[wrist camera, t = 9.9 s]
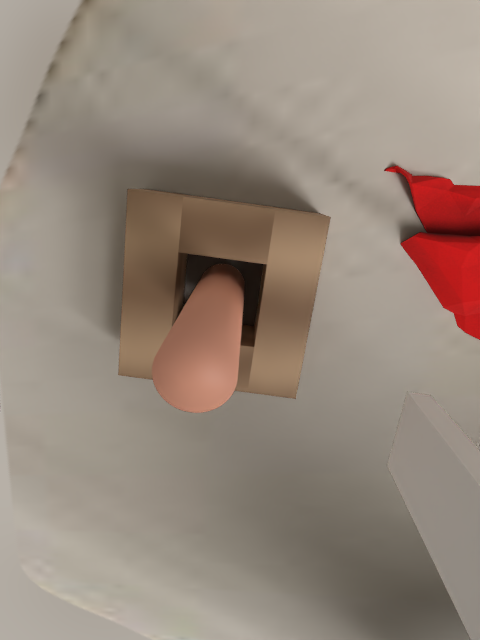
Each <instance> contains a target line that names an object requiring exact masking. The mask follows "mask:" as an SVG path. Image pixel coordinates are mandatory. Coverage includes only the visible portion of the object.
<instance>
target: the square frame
mask: <svg viewBox="0 0 480 640" xmlns="http://www.w3.org/2000/svg"><path fill="white" fill-rule="evenodd" d="M330 218H331V217H329V216H326V215H323V214H320V213H314V212H307V211H300V210H293V209H285V208H278V207H271V206H264V205H257V204H250V203H242V202H235V201H228V200H221V199H214V198H206V197H199V196H192V195H185V194H178V193H170V192H163V191H156V190H149V189H128V190H127V210H126V231H125V251H124V271H123V292H122V312H121V332H120V352H119V373H118V375H121V376H129V377H136V378H144V379H151V380H153V378H152V365H153V361H154V358H155V356H156V354H157V352H158V350H159V349H160V347H161V345H162V343H163V342H164V340H165V338H166V337H167V335H168V333H169V331H170V330H171V328H172V326H173V325H174V323H175V321H176V320H177V318H178V316H179V314H180V313H181V311H182V309H183V299H184V288H185V278H186V267H187V257H188V254H195V255H202V256H209V257H216V258H224V259H231V260H238V261H246V262H253V263H260V264H263V271H262V277H261V284H260V291H259V297H258V304H257V310H256V317H255V324H254V326H248V325H242V330H241V343H240V355H239V368H238V380H237V385H236V388H235V390H234V391H241V392H249V393H256V394H264V395H271V396H279V397H286V398H294V399H296V394H297V389H298V384H299V379H300V373H301V368H302V363H303V358H304V353H305V347H306V342H307V337H308V332H309V327H310V322H311V316H312V311H313V306H314V301H315V296H316V290H317V285H318V280H319V275H320V270H321V265H322V259H323V254H324V249H325V244H326V239H327V233H328V228H329V223H330Z"/></svg>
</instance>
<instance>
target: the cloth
mask: <svg viewBox="0 0 480 640" xmlns="http://www.w3.org/2000/svg"><path fill="white" fill-rule="evenodd" d="M384 171H389V172H396V173H401V174H403V175H404V176H405V177H406V179H407V181H408V183H409V185H410V189H411V194H412V198H413V202H414V206H415V210H416V213H417V215H418V216H419V218H420V220H421V222H422V224H423V226H424V228H425V229H426V231H427V233H424V232H419V233H418V234H416V235H414V236H413V237H411V238H409V239H407V240H405V241H404V242H402V243H401V246H402V247H403V248H404V250H405V251H406V252H407V254H408V255H409V256H410V258H411V259H412V260H413V261H414V262H415V264H416V265H417V267H418V268H419V270H420V271H421V273H422V274H423V276H424V278H425V279H426V281H427V282H428V284H429V285H430V287H431V289H432V290H433V292H434V293H435V295H436V297H437V298H438V300H439V301H440V303H441V304H442V306H443V308H445V309H447V310H449V311H451V312H453V313H454V315H455V319H456V322H457V326H458V327H459V328H461V329H462V330H463V331H464V332H465V333H467V334H469V335H471V336H473V337H475V338H477V339H479V340H480V186H467V185H454V184H453V183H452V181H451V180H450V179H445V178H439V177H431V176H412V174H410V173H409V172H407V171H406V170H404V169H402V168H400V167H398V166H393V167H389V168H386V169H385V170H384Z"/></svg>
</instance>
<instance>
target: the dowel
mask: <svg viewBox="0 0 480 640" xmlns="http://www.w3.org/2000/svg"><path fill="white" fill-rule="evenodd" d="M244 291H245V282H244V279H243V276H242V274H241V273H240V272H239V271H238V270H237V269H236V268H235V267H233V266H231V265H228V264H216V265H213V266H211V267H209V268H208V269H207V270H206V271H205V272H204V274H203V275H202V277H201V279H200V280H199V282H198V284H197V285H196V287H195V289H194V291H193V292H192V294H191V296H190V297H189V299H188V301H187V302H186V304H185V306H184V308H183V309H182V311H181V313H180V314H179V316H178V318H177V320H176V321H175V323H174V325H173V326H172V328H171V330H170V331H169V333H168V335H167V337H166V338H165V340H164V342H163V343H162V345H161V347H160V349H159V350H158V352H157V354H156V356H155V358H154V361H153V365H152V378H153V382H154V385H155V387H156V389H157V391H158V393H159V394H160V395H161V397H162V398H163V399H164V400H165V401H166V402H168V403H169V404H170V405H172V406H174V407H175V408H178V409H180V410H183V411H187V412H195V413H199V412H207V411H210V410H213V409H216V408H218V407H219V406H221V405H222V404H224V403H225V402H226V401H227V400H228V399H229V398H230V397H231V395H232V394H233V392H234V390H235V388H236V385H237V380H238V368H239V355H240V343H241V330H242V317H243V304H244Z"/></svg>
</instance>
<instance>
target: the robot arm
mask: <svg viewBox="0 0 480 640" xmlns="http://www.w3.org/2000/svg"><path fill="white" fill-rule="evenodd" d="M0 411H1V408H0ZM387 467H388V469H389V471H390V473H391V475H392V477H393V479H394V481H395V483H396V486H397V488H398V490H399V492H400V494H401V496H402V498H403V500H404V502H405V504H406V506H407V508H408V510H409V513H410V515H411V517H412V519H413V521H414V523H415V525H416V527H417V529H418V531H419V533H420V535H421V538H422V540H423V542H424V544H425V546H426V548H427V550H428V552H429V554H430V556H431V558H432V560H433V562H434V565H435V567H436V569H437V571H438V573H439V575H440V577H441V579H442V581H443V583H444V585H445V587H446V589H447V592H448V594H449V596H450V598H451V600H452V602H453V604H454V606H455V608H456V610H457V612H458V614H459V616H460V619H461V621H462V623H463V625H464V627H465V629H466V631H467V633H468V635H469V637H470V639H471V640H480V450H479V449H478V448H477V447H476V446H475V445H474V443H473V442H472V441H471V440H470V439H469V438H468V437H467V435H466V434H465V433H464V432H463V431H462V430H461V429H460V428H459V426H458V425H457V424H456V423H455V422H454V421H453V420H452V418H451V417H450V416H449V415H448V414H447V413H446V412H445V410H444V409H443V408H442V407H441V406H440V405H439V404H438V402H437V401H436V400H435V399H434V398H433V397H432V396H431V395H427V394H419V393H412V392H407V394H406V398H405V401H404V405H403V409H402V412H401V416H400V420H399V423H398V427H397V431H396V434H395V438H394V442H393V445H392V449H391V453H390V456H389V460H388V464H387Z"/></svg>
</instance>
